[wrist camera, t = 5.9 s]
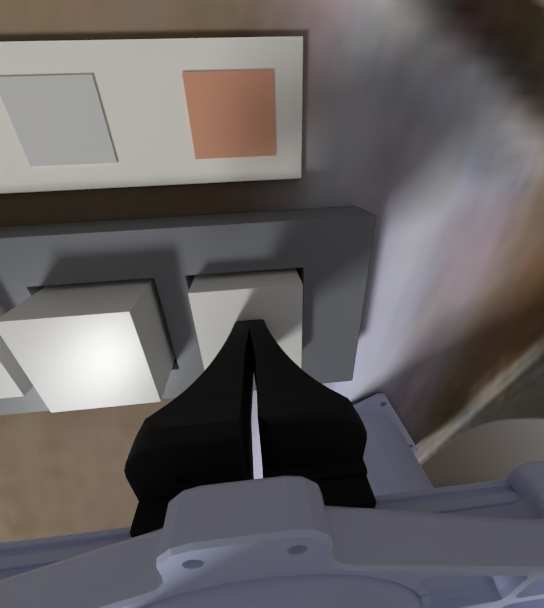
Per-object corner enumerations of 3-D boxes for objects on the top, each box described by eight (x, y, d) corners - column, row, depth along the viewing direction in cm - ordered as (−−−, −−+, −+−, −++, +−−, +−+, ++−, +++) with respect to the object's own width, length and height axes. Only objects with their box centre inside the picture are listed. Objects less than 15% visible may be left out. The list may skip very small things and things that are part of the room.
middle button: (155, 275, 13) (129, 311, 10) (176, 354, 16) (160, 401, 13) (50, 283, 13) (-9, 322, 10) (88, 361, 16) (50, 412, 13)
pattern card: (300, 39, 11) (303, 35, 10) (299, 177, 13) (301, 178, 13) (-257, 50, 10) (-281, 45, 9) (-145, 200, 12) (-160, 201, 12)
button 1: (290, 257, 15) (302, 284, 12) (291, 331, 17) (301, 369, 14) (199, 264, 15) (187, 293, 12) (212, 338, 17) (206, 378, 14)
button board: (355, 206, 14) (376, 215, 12) (339, 354, 19) (352, 380, 17) (-190, 237, 13) (-280, 255, 10) (-54, 391, 17) (-97, 424, 15)
